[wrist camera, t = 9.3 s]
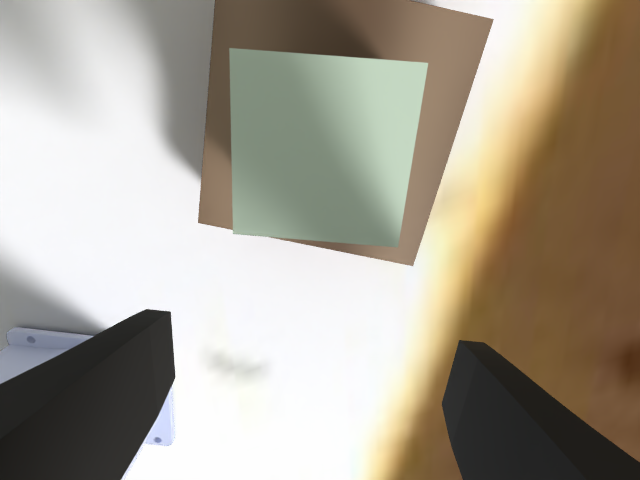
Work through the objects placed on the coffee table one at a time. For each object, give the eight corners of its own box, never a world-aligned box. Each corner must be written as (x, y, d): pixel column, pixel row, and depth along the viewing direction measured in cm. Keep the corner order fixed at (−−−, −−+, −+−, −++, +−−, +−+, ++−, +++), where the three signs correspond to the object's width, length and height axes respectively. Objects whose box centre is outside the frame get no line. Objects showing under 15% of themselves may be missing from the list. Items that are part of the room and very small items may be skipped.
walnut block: (226, 198, 18) (198, 222, 14) (248, -6, 15) (218, -43, 11) (397, 233, 18) (412, 266, 15) (454, 40, 15) (493, 19, 11)
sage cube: (264, 194, 14) (232, 233, 10) (266, 67, 12) (229, 48, 8) (379, 203, 14) (398, 247, 10) (396, 76, 12) (428, 62, 8)
